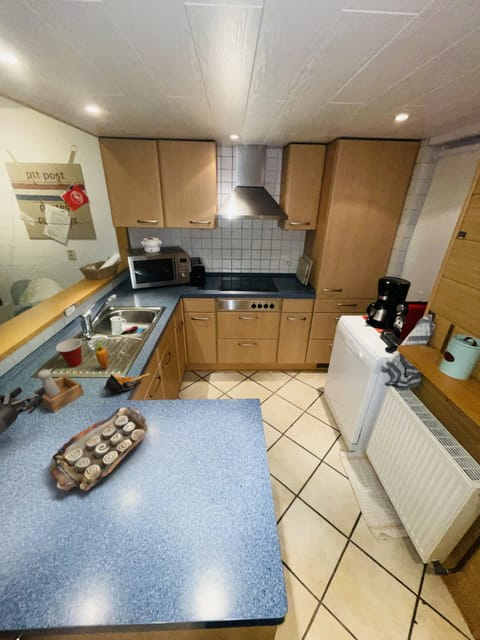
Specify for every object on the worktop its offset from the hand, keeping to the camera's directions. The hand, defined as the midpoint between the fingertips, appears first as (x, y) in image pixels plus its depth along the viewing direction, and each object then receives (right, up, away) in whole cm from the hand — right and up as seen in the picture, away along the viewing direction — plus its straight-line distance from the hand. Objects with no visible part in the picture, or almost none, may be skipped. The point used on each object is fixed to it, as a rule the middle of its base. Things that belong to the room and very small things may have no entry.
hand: (32, 389), depth 91 cm
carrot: (+9, 0, +34) cm, 35 cm away
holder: (0, -8, +15) cm, 17 cm away
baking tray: (+31, -19, -7) cm, 37 cm away
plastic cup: (-9, +2, +37) cm, 38 cm away
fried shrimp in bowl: (+25, -5, +22) cm, 34 cm away
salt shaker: (-3, -7, +14) cm, 16 cm away
